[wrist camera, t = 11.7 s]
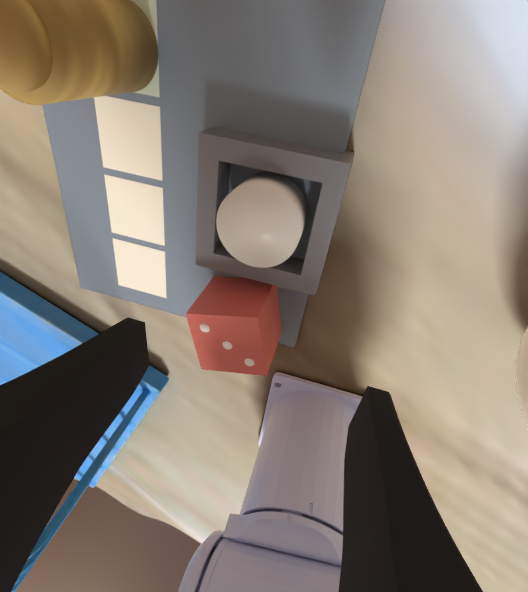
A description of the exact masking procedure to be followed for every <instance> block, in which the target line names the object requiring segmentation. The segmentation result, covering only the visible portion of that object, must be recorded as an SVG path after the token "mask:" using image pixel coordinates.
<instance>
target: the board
mask: <svg viewBox="0 0 528 592" xmlns="http://www.w3.org/2000/svg"><path fill="white" fill-rule="evenodd" d="M131 1H133V2H134V3H135V4H136V5H138V6H139V7H140V9H141V10H142V11H143V12H144V13H145V15H146V16H147V18H148V20H149V21H150V23H151V25H152V27H153V30H154V33H155V36H156V40H157V45H158V65H157V69H156V72H155V75H154V77H153V79H152V81H151V82H150V83H149V84H148V85H147V86H146V87H145V88H143V89H142V90H139V91H136V92H129V93H122V94H115V95H108V96H100V97H93V98H86V99H79V100H71V101H64V102H57V103H49V104H42V105H43V109H44V114H45V119H46V124H47V129H48V133H49V138H50V143H51V148H52V153H53V157H54V162H55V167H56V172H57V177H58V181H59V186H60V191H61V196H62V201H63V205H64V210H65V215H66V220H67V224H68V229H69V234H70V239H71V244H72V248H73V253H74V258H75V263H76V268H77V272H78V277H79V282H80V287H81V288H84V289H88V290H91V291H95V292H98V293H102V294H106V295H109V296H113V297H116V298H120V299H123V300H127V301H130V302H134V303H137V304H141V305H144V306H148V307H152V308H155V309H159V310H162V311H166V312H169V313H173V314H176V315H180V316H183V317H186V312H187V311H188V310H189V308H190V307H191V306H192V304H193V303H194V302H195V300H196V299H197V298H198V296H199V295H200V294H201V293H202V291H203V290H204V289H205V287H206V286H207V285H208V283H209V282H210V281H211V279H212V278H213V277H214V276H215V277H240V276H236V275H232V274H229V273H225V272H221V271H217V270H213V269H209V268H205V267H202V266H198V265H195V264H196V222H197V181H198V139H199V132H201V131H204V130H206V129H209V128H212V127H218V128H223V129H228V130H233V131H238V132H242V133H247V134H252V135H257V136H262V137H267V138H272V139H277V140H282V141H287V142H292V143H297V144H302V145H307V146H312V147H316V148H321V149H326V150H331V151H336V152H341V153H345V152H346V148H347V144H348V141H349V137H350V133H351V129H352V125H353V121H354V117H355V114H356V110H357V106H358V102H359V98H360V94H361V90H362V87H363V83H364V79H365V75H366V71H367V67H368V63H369V60H370V56H371V52H372V48H373V44H374V40H375V36H376V33H377V29H378V25H379V21H380V17H381V13H382V9H383V6H384V2H385V0H131ZM260 172H270V171H265V170H260V169H256V168H251V167H246V166H242V165H237V164H232V163H231V168H230V181H229V194H230V193H231V192H232V191H233V190H234V189H235V188H236V187H237V186H239V185H240V184H241V183H242V182H243V181H244V180H245V179H246V178H248V177H250V176H251V175H254V174H256V173H260ZM282 175H283V174H282ZM284 176H286V177H288V178H289V179H291V180H292V181H293V182H295V184H296V185H297V186H298V187H299V188H300V189H301V191H302V192H303V194H304V196H305V199H306V202H307V206H308V218H307V223H306V226H305V228H304V231H303V233H302V235H301V238H300V240H299V243H298V245H297V247H296V249H295V251H294V252H293V254H292V255H291V256H293V257H297V258H301V259H305V256H306V252H307V247H308V243H309V239H310V235H311V230H312V226H313V222H314V217H315V213H316V209H317V205H318V200H319V196H320V192H321V188H322V183H320V182H316V181H311V180H307V179H302V178H297V177H293V176H288V175H284ZM277 291H278V300H279V309H280V317H281V326H282V333H281V336H280V339H279V342H278V343H279V344H283V345H286V346H290V347H293V348H295V345H296V341H297V337H298V333H299V330H300V326H301V322H302V318H303V314H304V310H305V306H306V303H307V299H308V295H309V294H305V293H302V292H298V291H294V290H290V289H286V288H282V287H279V286H277Z"/></svg>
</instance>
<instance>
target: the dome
mask: <svg viewBox="0 0 528 592" xmlns="http://www.w3.org/2000/svg"><path fill="white" fill-rule="evenodd" d="M307 218H308V206H307V202H306V199H305V196H304V194H303V192H302V191H301V189H300V188H299V187H298V186H297V185H296V184H295V182H293V181H292V180H291V179H289V178H288V177H286V176H284V175H282V174H279V173H274V172H260V173H256V174H254V175H251V176H250V177H248V178H246V179H245V180H244V181H243V182H242V183H241V184H240V185H239V186H237V187H236V188H235V189H234V190H233V191H232V192H231V193H230V194H228V195H227V196H226V197H225V199H224V200H223V201H222V203H221V204H220V207H219V209H218V213H217V218H216V226H217V232H218V235H219V238H220V240H221V242H222V244H223V246H224V247H225V248H226V250H227V251H228V252H229V253H230V254H231V255H232V256H233V257H234V258H236V259H237V260H239V261H240V262H242V263H244V264H247V265H249V266H253V267H259V268H267V267H273V266H276V265H279V264H281V263H283V262H284V261H286V260H287V259H288V258H289V257H290V256H291V255H292V254H293V252H294V251H295V249H296V247H297V245H298V243H299V240H300V238H301V235H302V233H303V231H304V228H305V226H306V223H307Z"/></svg>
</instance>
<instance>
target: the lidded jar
mask: <svg viewBox="0 0 528 592" xmlns="http://www.w3.org/2000/svg"><path fill="white" fill-rule="evenodd" d="M515 378H516V388H517V393H518V398H519V402H520V406H521V410H522V414H523V417H524V420H525V423H526V425H527V428H528V327H527V329H526V331H525V333H524V335H523V337H522V338H521V341H520V344H519V348H518V351H517V356H516V363H515Z"/></svg>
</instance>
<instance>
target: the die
mask: <svg viewBox="0 0 528 592" xmlns="http://www.w3.org/2000/svg"><path fill="white" fill-rule="evenodd" d="M186 317H187V320H188V323H189V327H190V330H191V334H192V337H193V341H194V344H195V348H196V351H197V355H198V358H199V362H200V365H201V368H202V369H206V370H216V371H225V372H235V373H244V374H254V375H264V376H267V375H268V372H269V369H270V366H271V363H272V360H273V357H274V354H275V351H276V348H277V345H278V342H279V339H280V336H281V333H282V326H281V317H280V309H279V300H278V291H277V286H275V285H271V284H267V283H263V282H259V281H255V280H252V279H248V278H244V277H215V276H214V277H213V278H212V279H211V281H210V282H209V283H208V285H207V286H206V287H205V289H204V290H203V291H202V293H201V294H200V295H199V296H198V298H197V299H196V300H195V302H194V303H193V304H192V306H191V307H190V308H189V310H188V311H187V312H186Z"/></svg>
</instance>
